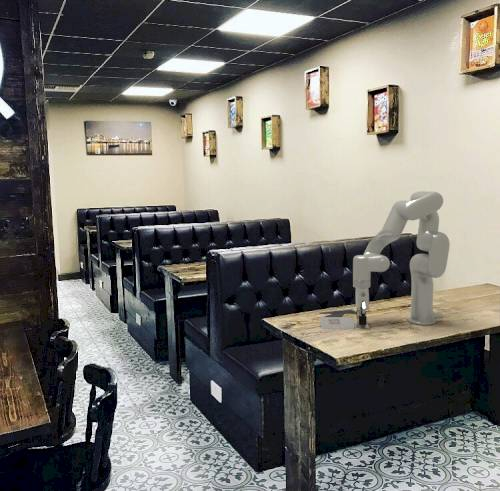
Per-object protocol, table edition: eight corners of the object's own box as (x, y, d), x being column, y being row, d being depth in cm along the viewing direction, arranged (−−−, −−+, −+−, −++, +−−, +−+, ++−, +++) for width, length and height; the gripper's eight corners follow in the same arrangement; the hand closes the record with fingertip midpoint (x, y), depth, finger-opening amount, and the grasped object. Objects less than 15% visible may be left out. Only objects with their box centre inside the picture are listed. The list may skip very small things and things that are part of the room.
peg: (364, 324, 227) (365, 308, 226) (366, 326, 223) (366, 310, 222) (356, 324, 227) (356, 308, 226) (357, 326, 223) (357, 310, 222)
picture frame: (328, 324, 235) (368, 320, 242) (328, 318, 235) (368, 314, 241) (314, 316, 250) (352, 312, 256) (314, 310, 250) (352, 307, 256)
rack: (366, 324, 231) (366, 316, 230) (370, 332, 219) (370, 324, 218) (319, 324, 233) (319, 316, 232) (321, 332, 221) (321, 323, 220)
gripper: (373, 287, 214) (372, 327, 216) (367, 279, 231) (367, 317, 233) (355, 287, 214) (355, 327, 216) (350, 279, 232) (350, 317, 234)
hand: (361, 321), depth 225 cm, fingers open, 8 cm apart
